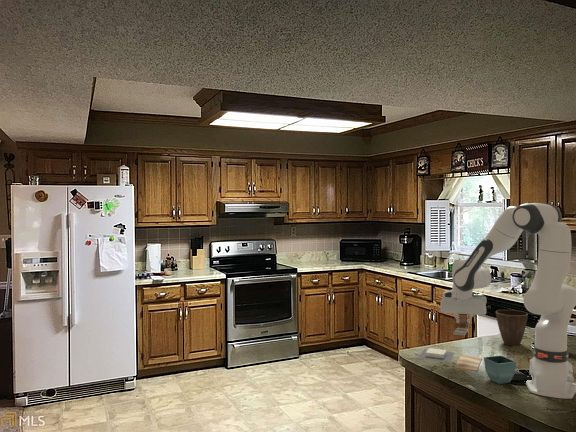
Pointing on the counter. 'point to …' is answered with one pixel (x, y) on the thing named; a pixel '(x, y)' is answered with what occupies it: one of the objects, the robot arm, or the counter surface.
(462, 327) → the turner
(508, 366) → the flower pot
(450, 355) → the mat
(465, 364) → the board
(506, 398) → the counter surface
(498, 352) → the counter surface
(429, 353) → the tile
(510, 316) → the plant pot
